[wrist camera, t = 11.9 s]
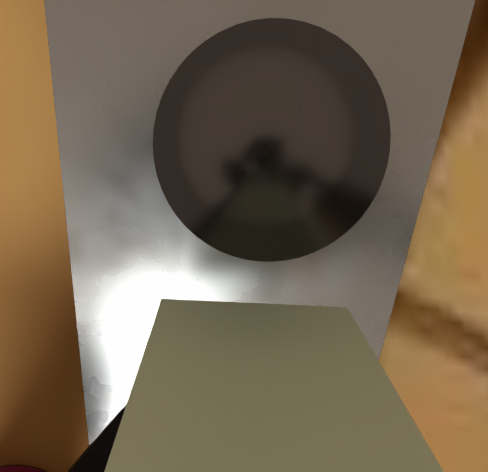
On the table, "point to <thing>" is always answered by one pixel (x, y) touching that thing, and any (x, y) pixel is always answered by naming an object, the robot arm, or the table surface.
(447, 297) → the table surface
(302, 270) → the grey flat plate
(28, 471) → the cup
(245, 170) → the black peg
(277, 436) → the green block
